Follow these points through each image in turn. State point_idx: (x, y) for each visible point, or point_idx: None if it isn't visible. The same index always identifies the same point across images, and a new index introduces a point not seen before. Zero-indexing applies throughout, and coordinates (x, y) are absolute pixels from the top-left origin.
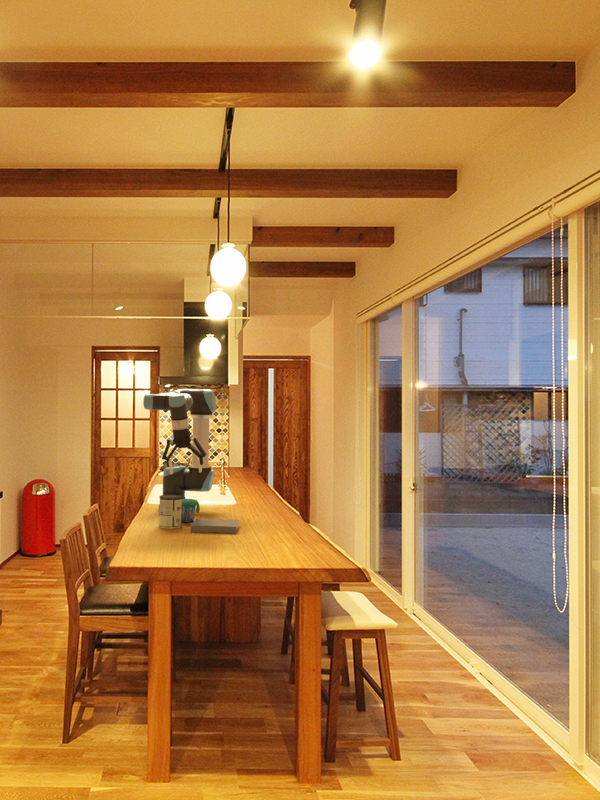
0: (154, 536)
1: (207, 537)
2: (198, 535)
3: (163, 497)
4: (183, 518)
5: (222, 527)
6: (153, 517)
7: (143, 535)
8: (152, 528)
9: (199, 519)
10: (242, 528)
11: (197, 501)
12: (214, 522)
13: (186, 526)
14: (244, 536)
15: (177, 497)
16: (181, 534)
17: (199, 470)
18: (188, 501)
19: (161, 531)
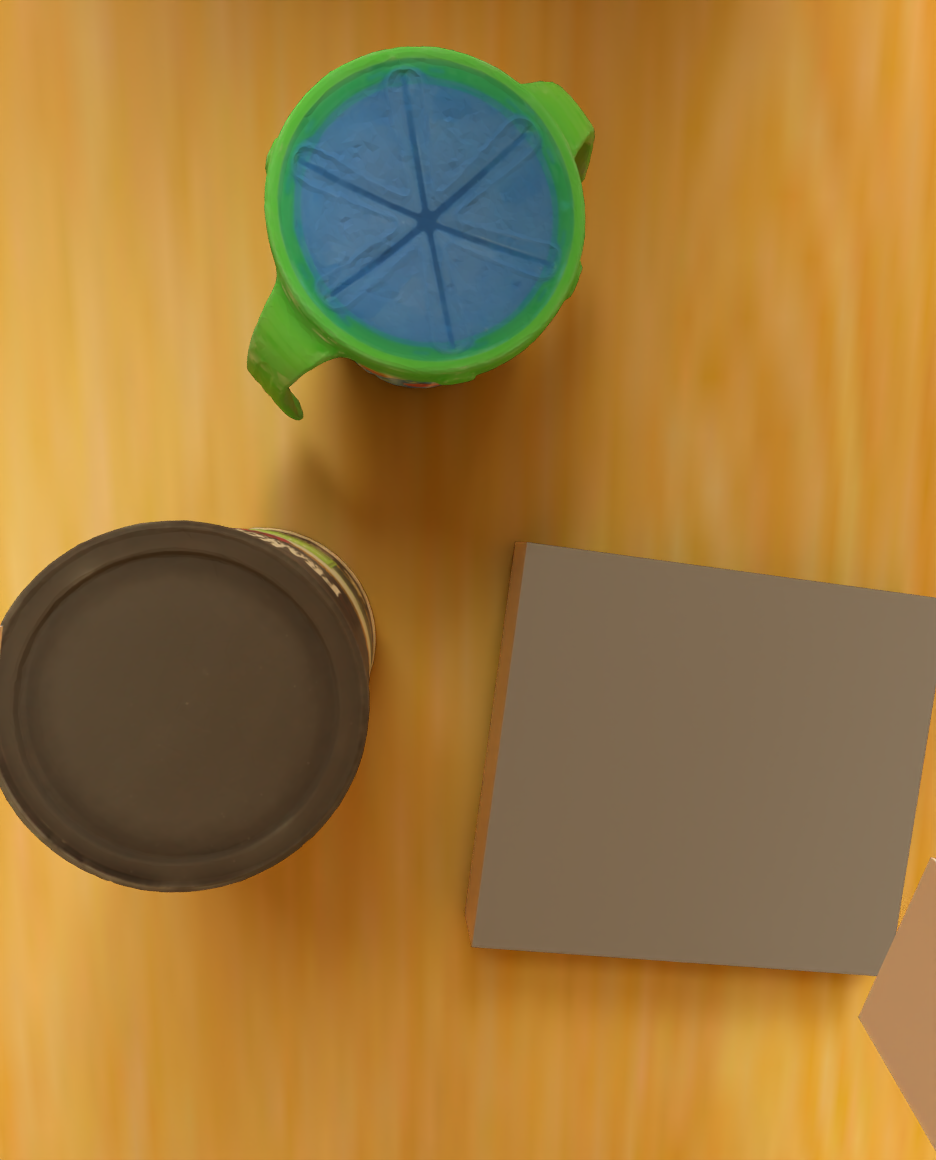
0: (141, 1127)
1: (604, 1129)
2: (531, 1050)
3: (59, 855)
4: (393, 382)
5: (763, 962)
6: (45, 51)
7: (34, 1090)
8: None
9: (564, 594)
10: None
11: (584, 141)
12: (707, 766)
13: (426, 616)
14: None
15: (292, 851)
16: (383, 1017)
17: (913, 1079)
18: (457, 195)
19: None
